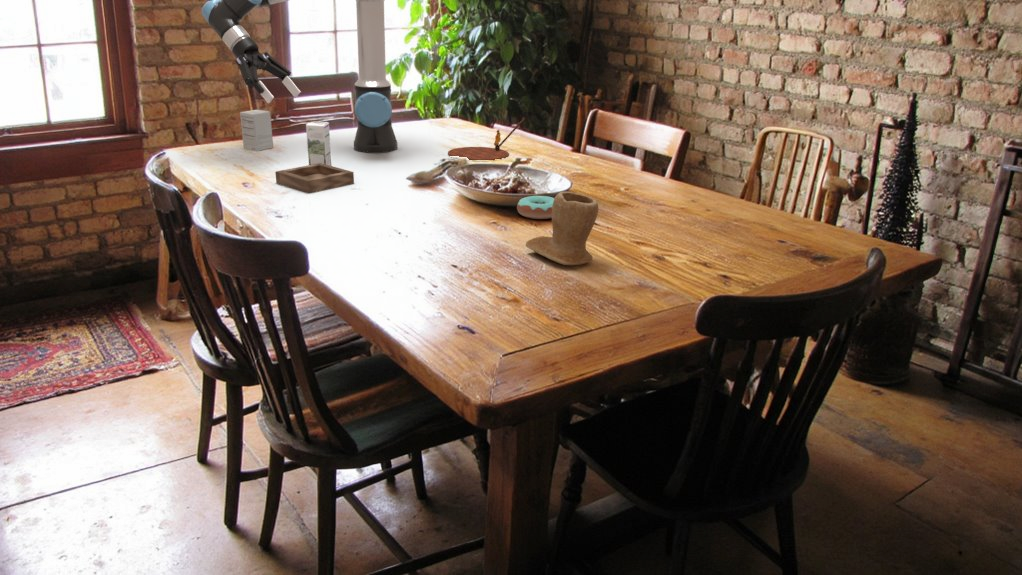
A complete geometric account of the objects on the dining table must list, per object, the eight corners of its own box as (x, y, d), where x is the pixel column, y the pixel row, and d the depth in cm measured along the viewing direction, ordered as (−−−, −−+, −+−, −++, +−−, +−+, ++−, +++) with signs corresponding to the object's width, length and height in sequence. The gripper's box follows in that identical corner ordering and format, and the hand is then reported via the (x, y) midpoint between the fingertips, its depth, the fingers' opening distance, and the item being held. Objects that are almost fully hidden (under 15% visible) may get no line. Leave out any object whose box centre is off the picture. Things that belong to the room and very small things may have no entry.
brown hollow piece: (606, 263, 187) (610, 197, 181) (562, 272, 181) (565, 205, 175) (565, 244, 199) (568, 182, 193) (523, 252, 193) (525, 188, 187)
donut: (509, 217, 219) (510, 202, 218) (526, 206, 230) (526, 192, 228) (553, 223, 215) (553, 208, 214) (567, 211, 226) (568, 197, 224)
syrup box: (332, 167, 268) (329, 121, 262) (326, 171, 262) (323, 124, 257) (314, 166, 268) (311, 120, 263) (308, 170, 263) (305, 124, 257)
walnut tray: (321, 174, 259) (320, 163, 257) (354, 183, 249) (353, 171, 247) (276, 183, 248) (275, 171, 246) (308, 193, 238) (307, 181, 236)
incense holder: (436, 153, 291) (435, 120, 287) (506, 144, 308) (507, 113, 304) (469, 164, 276) (469, 131, 272) (542, 154, 292) (543, 122, 288)
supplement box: (260, 145, 297) (256, 109, 292) (274, 148, 293) (270, 111, 288) (242, 148, 291) (239, 111, 287) (256, 151, 287) (253, 114, 283)
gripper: (260, 49, 274) (302, 100, 274) (207, 55, 252) (252, 111, 252) (272, 33, 270) (314, 84, 270) (220, 38, 248) (265, 94, 248)
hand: (284, 97), depth 261 cm, fingers open, 13 cm apart
